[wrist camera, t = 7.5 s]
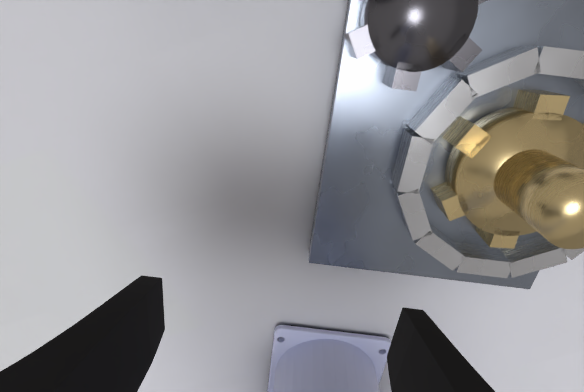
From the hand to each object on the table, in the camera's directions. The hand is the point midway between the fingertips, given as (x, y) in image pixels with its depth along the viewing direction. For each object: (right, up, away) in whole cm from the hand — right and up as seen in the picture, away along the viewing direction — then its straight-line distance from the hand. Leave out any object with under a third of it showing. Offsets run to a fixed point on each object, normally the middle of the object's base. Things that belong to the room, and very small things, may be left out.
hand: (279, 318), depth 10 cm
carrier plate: (+9, +7, +7) cm, 13 cm away
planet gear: (+11, +5, +7) cm, 14 cm away
